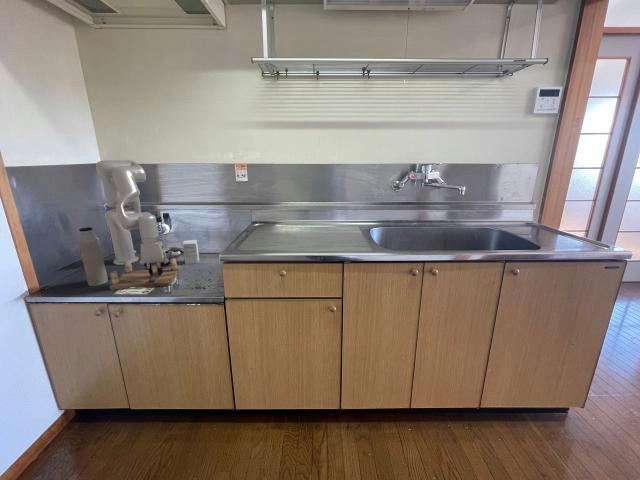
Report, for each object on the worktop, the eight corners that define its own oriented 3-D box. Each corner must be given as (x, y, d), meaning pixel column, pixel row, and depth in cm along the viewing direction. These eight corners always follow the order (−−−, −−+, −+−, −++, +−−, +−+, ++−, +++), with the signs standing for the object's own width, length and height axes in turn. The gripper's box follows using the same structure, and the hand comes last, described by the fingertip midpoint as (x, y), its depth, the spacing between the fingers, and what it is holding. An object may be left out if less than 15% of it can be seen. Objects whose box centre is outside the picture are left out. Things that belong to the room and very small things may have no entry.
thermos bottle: (85, 286, 137) (71, 230, 129) (91, 280, 144) (78, 226, 136) (105, 284, 139) (92, 229, 131) (110, 278, 147) (98, 225, 139)
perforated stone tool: (159, 269, 158) (157, 258, 156) (150, 269, 159) (148, 257, 157) (176, 260, 172) (175, 249, 170) (168, 259, 173) (167, 249, 171)
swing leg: (154, 281, 137) (152, 270, 136) (147, 282, 137) (145, 270, 135) (161, 274, 146) (159, 263, 144) (154, 275, 145) (152, 264, 143)
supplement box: (186, 260, 172) (183, 240, 169) (199, 259, 174) (197, 239, 171) (184, 264, 166) (181, 243, 162) (198, 263, 168) (195, 242, 164)
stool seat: (127, 274, 151) (124, 260, 149) (179, 271, 155) (177, 257, 153) (110, 289, 134) (106, 274, 132) (169, 285, 138) (166, 270, 136)
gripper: (171, 237, 143) (176, 270, 149) (135, 238, 141) (141, 272, 146) (166, 241, 136) (171, 276, 142) (128, 243, 134) (135, 278, 139)
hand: (156, 274), depth 144 cm, fingers closed on swing leg, 3 cm apart
